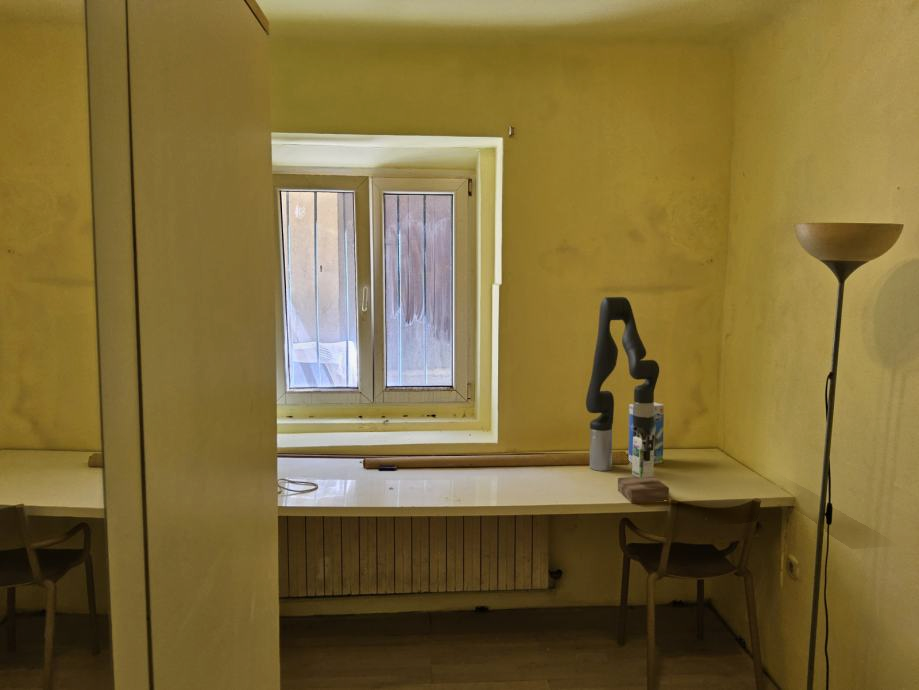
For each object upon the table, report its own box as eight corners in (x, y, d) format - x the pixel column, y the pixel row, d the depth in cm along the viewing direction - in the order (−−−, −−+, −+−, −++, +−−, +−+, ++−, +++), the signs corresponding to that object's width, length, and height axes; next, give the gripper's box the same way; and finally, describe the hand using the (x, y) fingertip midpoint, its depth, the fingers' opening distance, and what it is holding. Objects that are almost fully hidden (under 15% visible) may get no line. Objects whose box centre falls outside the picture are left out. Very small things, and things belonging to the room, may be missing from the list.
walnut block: (617, 490, 248) (618, 477, 247) (653, 488, 249) (653, 476, 249) (631, 503, 234) (631, 489, 233) (668, 501, 235) (668, 487, 235)
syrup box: (631, 474, 242) (631, 436, 241) (644, 472, 245) (645, 434, 243) (640, 478, 237) (641, 440, 236) (654, 476, 239) (654, 438, 238)
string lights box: (637, 466, 278) (638, 407, 276) (627, 461, 285) (628, 403, 283) (663, 462, 283) (664, 404, 280) (653, 458, 290) (653, 401, 287)
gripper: (626, 410, 245) (626, 453, 247) (641, 418, 231) (640, 464, 233) (645, 409, 246) (645, 452, 248) (661, 417, 232) (660, 463, 233)
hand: (643, 457), depth 240 cm, fingers closed on syrup box, 6 cm apart
